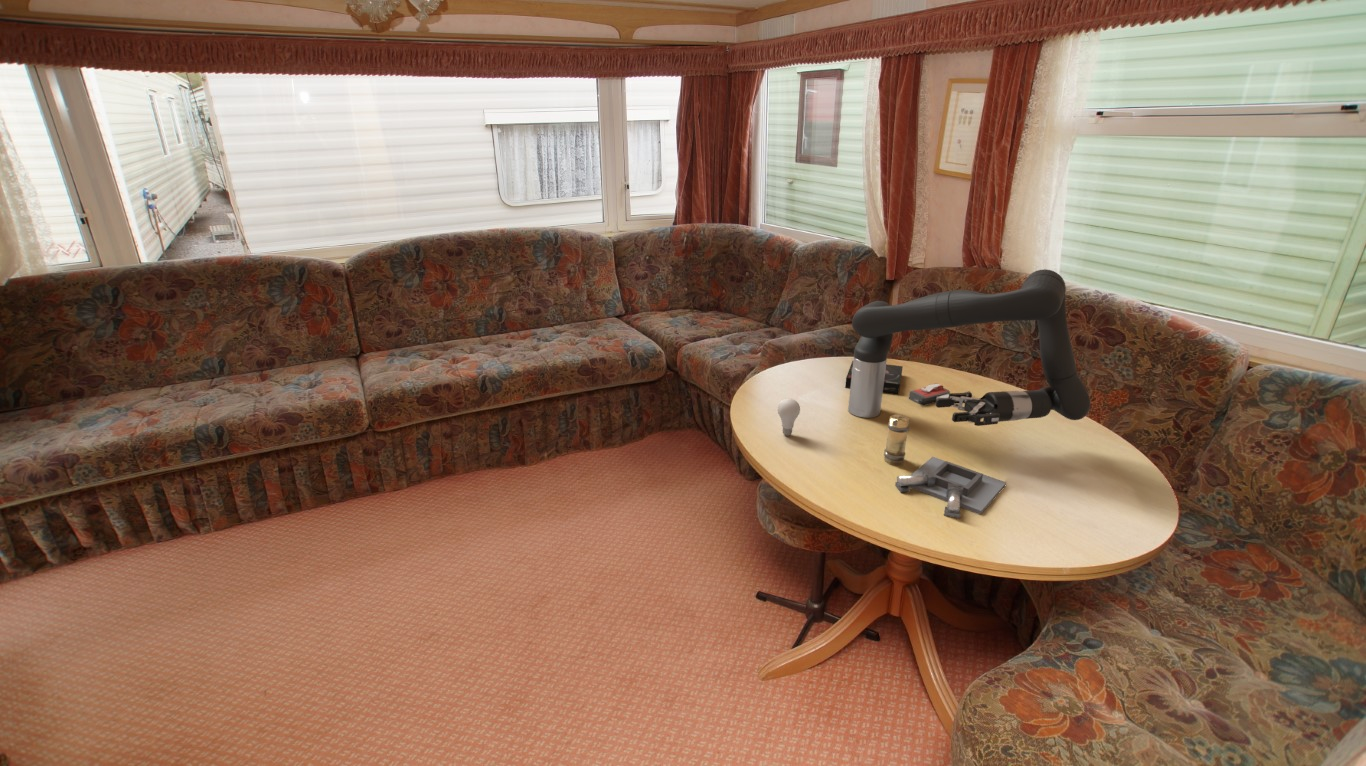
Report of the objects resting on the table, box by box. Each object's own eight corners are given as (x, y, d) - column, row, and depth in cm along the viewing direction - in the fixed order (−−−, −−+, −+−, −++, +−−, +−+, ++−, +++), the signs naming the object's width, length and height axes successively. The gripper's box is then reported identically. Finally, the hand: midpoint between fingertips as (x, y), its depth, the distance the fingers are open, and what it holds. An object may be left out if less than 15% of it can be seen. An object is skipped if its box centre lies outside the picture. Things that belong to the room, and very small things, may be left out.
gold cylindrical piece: (889, 453, 164) (894, 412, 159) (907, 460, 161) (913, 418, 156) (879, 460, 161) (885, 418, 156) (898, 467, 158) (904, 425, 153)
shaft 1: (927, 483, 151) (929, 470, 149) (933, 490, 148) (935, 477, 146) (895, 485, 150) (897, 472, 149) (900, 492, 147) (902, 479, 146)
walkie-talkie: (925, 410, 188) (972, 397, 197) (927, 397, 187) (974, 384, 195) (903, 399, 196) (949, 387, 204) (905, 386, 194) (952, 375, 202)
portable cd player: (901, 376, 213) (902, 365, 212) (898, 396, 199) (899, 384, 197) (851, 370, 219) (852, 359, 217) (845, 389, 204) (846, 377, 202)
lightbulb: (773, 430, 177) (775, 394, 172) (795, 429, 177) (797, 393, 173) (778, 440, 171) (780, 404, 167) (800, 439, 171) (803, 403, 167)
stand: (931, 459, 161) (933, 449, 160) (1005, 485, 149) (1008, 475, 148) (903, 484, 150) (904, 473, 149) (980, 514, 139) (982, 503, 138)
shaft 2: (945, 496, 145) (948, 483, 144) (960, 499, 144) (963, 486, 143) (943, 515, 139) (946, 501, 137) (959, 518, 138) (962, 504, 136)
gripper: (992, 381, 163) (932, 385, 161) (1026, 404, 150) (961, 408, 148) (988, 407, 166) (929, 411, 164) (1020, 432, 153) (956, 436, 151)
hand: (944, 410), depth 156 cm, fingers open, 8 cm apart
